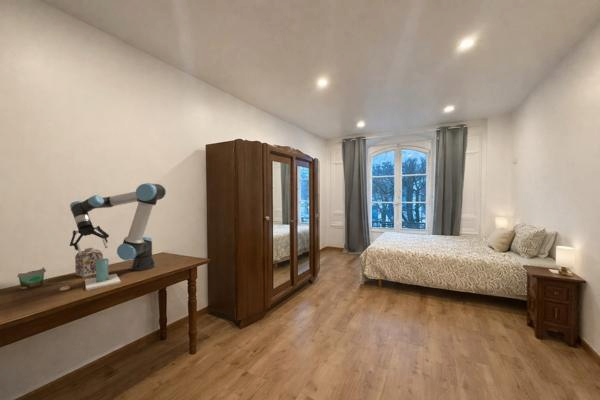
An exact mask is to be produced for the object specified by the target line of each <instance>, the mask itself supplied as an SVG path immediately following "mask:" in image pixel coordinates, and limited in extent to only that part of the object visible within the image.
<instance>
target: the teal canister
mask: <svg viewBox="0 0 600 400" xmlns="http://www.w3.org/2000/svg"><path fill="white" fill-rule="evenodd" d="M109 275H110V274H109V258H103V259H98V260H96V274H95V276H96V277H95V278H96V282H103V281H107V280H109Z"/></svg>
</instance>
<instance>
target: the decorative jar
mask: <svg viewBox="0 0 600 400" xmlns="http://www.w3.org/2000/svg"><path fill="white" fill-rule="evenodd" d="M81 252H82V254H81V255H79V252H77V253H76V255H75V256H74V258H75V259H74V263H75V265H74V266H75V267H74V268H75V275H76V276H79V277H81V278H87V277H90V276H94V275H95V276H96V260H98V259H104V254H103V251H101V250H100V249H94V247H87V248H85V249H84V250H81Z"/></svg>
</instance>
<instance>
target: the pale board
mask: <svg viewBox="0 0 600 400" xmlns="http://www.w3.org/2000/svg"><path fill="white" fill-rule="evenodd" d="M121 282H122V281H121V279H120V277H119V276H118V274H117V273H113V274H112V273H111V274H109V280H107V281H103V282H96V277H93V278H92V277H91V278H86V279H84V283H85V284H84V285H85V290H86V291H89V290H90V291H91V290H96V289H100V288H104V287H110V286H113V285H117V284H121Z"/></svg>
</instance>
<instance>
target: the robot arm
mask: <svg viewBox="0 0 600 400" xmlns="http://www.w3.org/2000/svg"><path fill="white" fill-rule="evenodd" d="M166 192H167V191H166V188H165V187H164V186H163V185H161V184H159V183H152V182H151V183H150V182H146V183H142V184H140V185H138V186H137V188H136V190H135V191H132V192H126V193H121V194H117V195H110V196H106V197H105V196H104V197H102V196H101V195H98V194H95V195H92V196H90V197H88V198H87V199H85V200H83V201H82V200H76V201H73V202H71V203H70V205H69V207H70V211H71V213H72V215H73V216H72V217H73V220H74V221H75V225H76V227H77V229H78V230H74V229H73V231H72V237H71V240H70V244H69V247H72V246H73V247H74V250H75V251H78V252H77V253H79V255H81V254H82V252H81V251H82V250H81V247H80V244H79V242H80V241H81V239H82V238H83V237H86V236H91V235H93V236H96V237H98V238H101V239H102V242H103V245H104V248H105V249H107V248H108V243H109V242H108V238H109V236H110V234H108V233H107V232H105V231H104V230H103V229H102V228H101V227H100V225H97V226H94V225H93V223H92V222H91V217H90V215H89V212H91V211H92V210H94V209H102V208H103V209H105V208H108V209H109V208H113V207H117V206H121V205H125V204H126V205H127V204H131V203H132V204H133V203H138V204H137V206H136V207H137V208H136V209H135V213H134V215H133V219H132V221H131V226H130V229H129V232H128V235H127V236H125V237H124V239H123V242H122V243H120V245H119V246H118V247H117V249H116V254H117V256H118V258H119V259H121V260H124V261H129V260H132V263H131V265H130V269H131V271H134V272H135V271H137V272H138V271H146V270H150V269H152V268H155V267H156V262H155V260H154V258H153V240H152V237H150V236H144V235H145V231H146V229H147V226H148V221H149V218H150V216H151V213H152V210H153V207H154V206H156V205H157V202H158V200H159V201H160V200H162V199H163V198H164V197H165V196H166V194H167V193H166ZM95 230H96V231H95ZM78 233H79V234H80V235H79V236H78V237H77V238H76V235H77V234H78Z"/></svg>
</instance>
